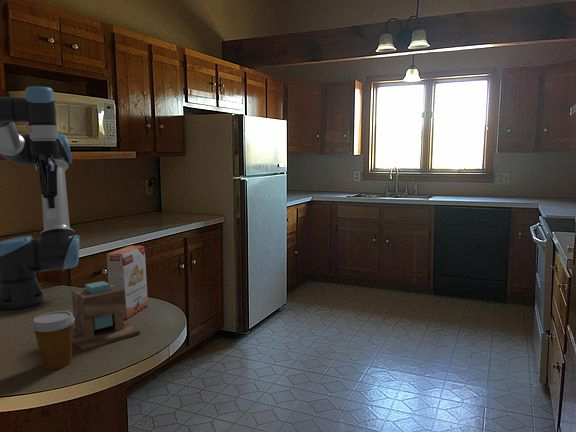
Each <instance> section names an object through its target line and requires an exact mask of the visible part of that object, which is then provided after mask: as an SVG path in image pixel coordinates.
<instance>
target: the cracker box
mask: <svg viewBox="0 0 576 432" xmlns="http://www.w3.org/2000/svg"><path fill="white" fill-rule="evenodd" d="M106 265H107V279H108V282H107V283H112V284H114V285H116V286H118V287H120V288H122V289H124V290H125V300H126V311H123V317H124V320H128V319H129V318H131V317H132V315H133V316H134V315H135V313H136V314H137V313H138V311H139V312H140V311H142V310H143V308H144V307H145V308H147V307H148V306H149V303H148V302H149V301H148V299H149V298H148V285H147V283H148V281H147V269H146V268H147V266H146V247H145V246H143V245H128V246H126V247H123V248H120V249H118V250H113V251H112V252H109V253H106ZM147 305H148V306H147ZM146 306H147V307H146ZM145 308H144V309H145ZM141 309H142V310H141Z"/></svg>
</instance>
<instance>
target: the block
mask: <svg viewBox="0 0 576 432" xmlns="http://www.w3.org/2000/svg"><path fill="white" fill-rule="evenodd" d="M108 283H109V282H106V281H104V280H102V281H101V280H100V281H96V282H90V283H87V284H84V285H85V287H84V288H86V292H87V293H89V294H90V295H91V294H96V293H101V292H106V291H110V284H108ZM112 325H113V320H112V314H110V315H106V316H102V317H98V318H94V319H93V327H94V329H95V330H97V329H100V328H104V327H108V326H112Z"/></svg>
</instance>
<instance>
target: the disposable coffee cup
mask: <svg viewBox="0 0 576 432" xmlns="http://www.w3.org/2000/svg"><path fill="white" fill-rule="evenodd" d="M74 321H75V317H74V313H72V312H71V311H67V310H58V311H51V312H46V313H42V314H39V315H37V316H35V317H34V318H33V320H32V324H31V328H32V329H33V331H34V334H35V338H36V343H37V346H38V350H39V355H40V358H41V359H40V360H41V362H42V366H43V368H44V369H46V370H56V369H58V370H59V369H61V368H65V367H67V366H68V365H70V364H71V363H72V362H73V361H72V360H73V329H74Z"/></svg>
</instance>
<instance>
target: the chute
mask: <svg viewBox="0 0 576 432" xmlns="http://www.w3.org/2000/svg"><path fill="white" fill-rule="evenodd" d="M107 283H108V284H110V291H106V292H101V293H96V294H91V295H90V294H89V293H87V292H86V287H81V288H77V289H72V290H71V300H72V301H71V302H72V311H73V313H72V314H73V317H75V321H74V323H73V325H74V327H73V342H72V344H74V345H75V346H76V347H77V348H78V349H79V350H80V351H82V352H83V351H85V350H90V349H93V348H97V347H101V346H104V345H106V344H111V343H115V342H118V341H121V340H125V339H129V338H133V337H135V336H139V335H141V331H140V329H137V328H136V327H134V326H132V325H131V324H130V323H127V321H125V319H124V317H123V311H126V300H125V290H124V289H122V288H120V287H118V286H116V285H114V284H112V283H109V282H107ZM110 314H112V320H113V325H112V326H108V327H104V328H100V329H97V330H95V329H94V327H93V319H94V318H98V317H102V316H106V315H110Z"/></svg>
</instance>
